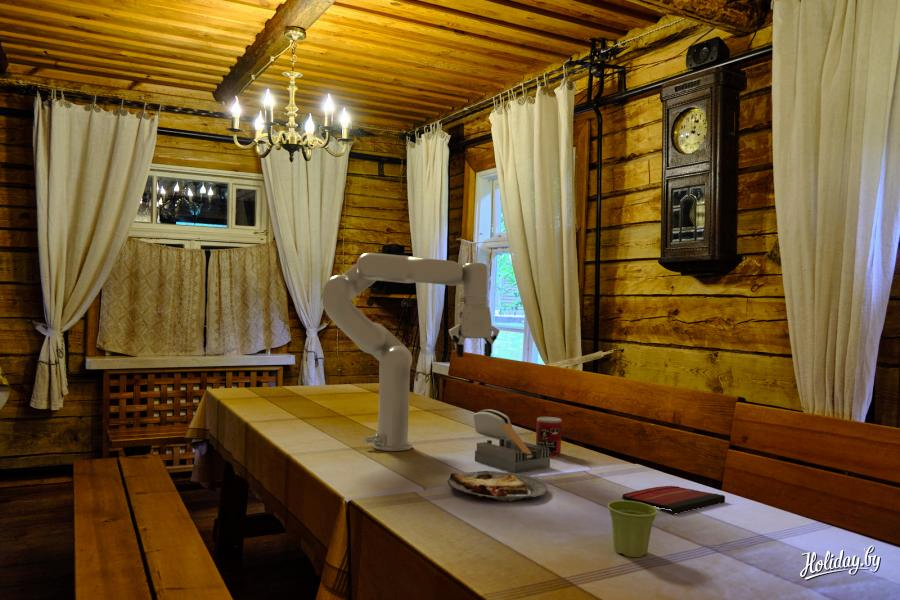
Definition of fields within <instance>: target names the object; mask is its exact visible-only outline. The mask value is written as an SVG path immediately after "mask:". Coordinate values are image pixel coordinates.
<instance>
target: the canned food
mask: <svg viewBox="0 0 900 600" xmlns="http://www.w3.org/2000/svg"><path fill="white" fill-rule="evenodd" d="M562 420H563V419H561V418H559V417H554V416H539V417H537V418H536V433H535V434H536V435H535V436H536V437H535V445H538V446H542V447H545V448H549V457H557V456H556V455H558V456H560V455H559V454H561V450H562V448H561V447H562V431H563V430H562V427H563V424H562V423H563V421H562Z"/></svg>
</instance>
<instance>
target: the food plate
mask: <svg viewBox="0 0 900 600" xmlns="http://www.w3.org/2000/svg"><path fill="white" fill-rule="evenodd" d="M447 483H448V486H449V487H450V488H452V490H456V491H459V492H462V493H464V494H467V495H471V496H474V497H475V498H476V497H479V498H482V497H486V498H487V499H493V500H497V501H502V502H507V501H508V503H509V502H512V501H515V500H522V499H529V498H535V497H538V496H539V497H540V496H543V495H545V494H546V493H547V490H548V489H549V488H548V484H546V482H544V481H542V480H540V479H539V478H537V477H536V478H535V477H533V476H532V477H531V476H529V475H524V474H521V473H512V472H505V471H504V472H502V471H497V470H492V471H490V470H481V471H479V470H477V471H472V472H463V473H458V472H453V473H450V477H449V478H448V480H447ZM528 493H530V494H528Z"/></svg>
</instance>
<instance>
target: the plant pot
mask: <svg viewBox="0 0 900 600" xmlns="http://www.w3.org/2000/svg"><path fill="white" fill-rule="evenodd" d="M607 508H608V509H609V516H610V517H611V527H612V528H611V529H612V537H613V539H612V540H613V550H614V551H615V552H616V553H617V554H622V555H624V556H626V557H629V558H640V557H641V558H642V557H643V556H646V555H647V553H648V550H649V549H648V548H649V543H650V539H651V538H650V537H651V533H652V532H651V531H652V526H653V522H654V521H655V517H656V516H657V515H658V512H659V511H658V510H657V509H656V508H655V507H653V506H651V505H648V504H645V503H641V502H635V501H628V500H625V499H623V500H622V499H621V500H614V501H613V500H612V501H610V502H608V503H607Z"/></svg>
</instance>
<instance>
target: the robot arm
mask: <svg viewBox="0 0 900 600" xmlns="http://www.w3.org/2000/svg"><path fill="white" fill-rule="evenodd" d="M377 281H380V282H391V283H400V284H401V283H402V284H414V283H417V284H419V283H420V284H421V283H423V284H434V285H435V284H436V285H442V286H443V285H444V286H450V287H454V286H462V297H461V298H460V297H459V299H458V301H459V303H461V304H462V306H460V311H459V315H458V321H457V322H458V324H457V325H455V326H453V327H452V328H450V329H448V333H449V334H448V335H449V336H450V338H451V340H452V341H453V343H454V344H455V353H456V357H457V358H463V357H464V341H465V340H466V339H483V340H484V348H483V349H484V350H483V351H484V353H483V354H484V356H485V357H489V358H491V357H492V351H493V349H492V348H493V345H494V343H495V341H496V340H497V339H498V335H499V333H500V329H499V328H497V327H495V326H493V325H492V314H491V309H490V306H487V305H488V266H487V263H486V264H485V263H483V262H468V263H467V262H466V263H458V262H456V261H454V260H447V259H437V258H433V259H432V258H424V257H423V258H421V257H416V256H409V255H399V254H398V255H397V254H389V253H379V252H378V253H377V252H376V253H375V252H365V253H363V254H360V256H359V257H358V258H357V261H356V264H354V265H353V266H352V267H351V268H350V269H348V270H347V271H345V272H344V273H342V274H335V275H333V276H331V277H329V278H328V279H327V281H326V282H325V283H324V287H323V289H322V294H321V295H322V296H321V298H322V299H321V300H322V301H321V302H322V307H323V309H324V311H325V314H326V315H327V316H328V319H330V320H331V321H332V322H333V323H334V324H335V325H336V326H337V327H338V328H339V329H340V330H341V331H342V332H343V334H345V335H346V336H347V337H348V338H349V339H350V340H351V342H353V343H354V344H355V345H356V346H357V347H358V348H359V349H360V350H361V351H362V352H363V353H367V354H370V355H371V356H373V357H374V359H376V360H377V361H378V362H379V364H378V366H379V367H378V378H379V379H378V381H379V382H378V384H379V386H378V387H379V388H378V411H377V412H378V413H377V414H378V417H377V432H374V434H373V435H372V436H365V437H364V438H363V442H364V443H365V444H370V443H372V444H371V446H372V448H373V449H375V450H379V451H388V452H402V451H408V450H409V451H410V450H411V449H412V448H413V443H412V442H411V441H408V438H409V415H410V413H409V412H410V411H409V410H410V388H411V387H410V386H411V385H410V382H411V377H410V375H411V367H412V364H413V356H412V352H411V351H410V350H409V348H408V347H406V346H405V345H404V344H403V342H402V341H400V340H399V339H398V338H397V337H396V336H395V335H394V334H393V333H391V332H390V331H389V330H388V329H387V328H386V327H385V326H383V325H382V324H380V323H378V322H373V321H372V320H371V319H370V318H369V317H367V315H365V314H364V313H363V312H362V311H361V310H360V309H359V308H358V307H357V306H356V305H355V304H354V303H353V302H352V300H353V299H354V298H356V297H357V296H359V295H360V294H361V293H363V291H365V290H366V289H368V288H369V287H371V286H372V285H373V284H375V282H377ZM456 332H457V335H456Z"/></svg>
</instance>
